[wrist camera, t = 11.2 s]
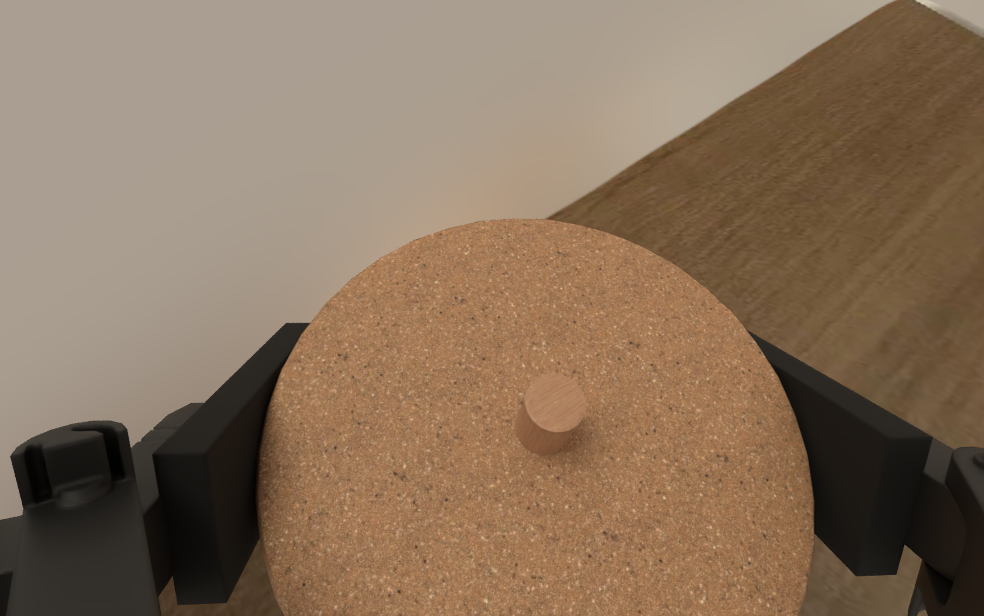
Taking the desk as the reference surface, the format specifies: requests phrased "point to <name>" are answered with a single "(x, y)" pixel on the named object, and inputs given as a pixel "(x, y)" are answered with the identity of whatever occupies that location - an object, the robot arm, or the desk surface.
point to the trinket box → (531, 440)
